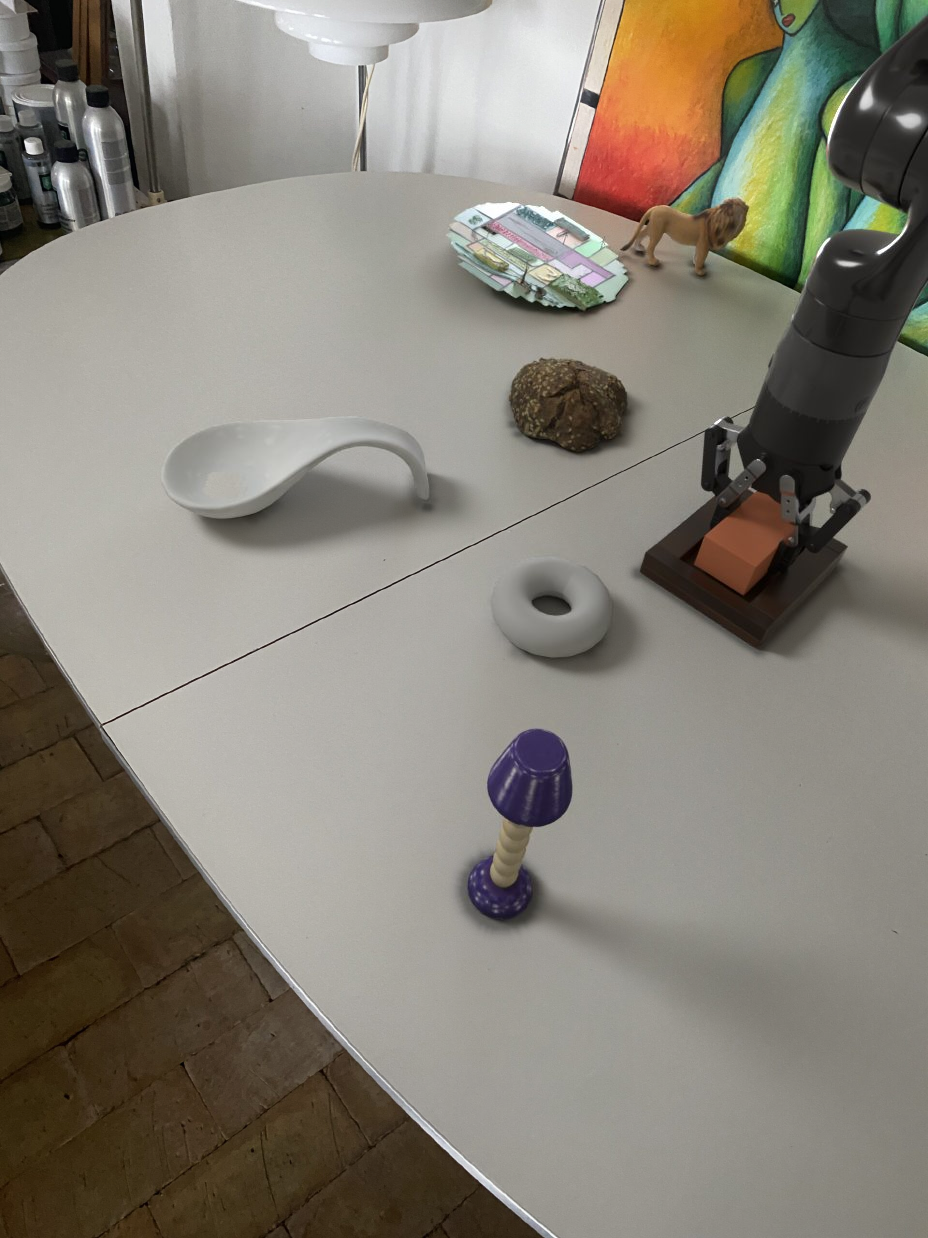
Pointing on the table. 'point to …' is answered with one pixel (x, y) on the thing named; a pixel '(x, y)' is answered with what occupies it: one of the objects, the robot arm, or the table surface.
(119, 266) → the table surface
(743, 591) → the orange block
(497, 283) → the city model
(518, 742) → the toy lamp
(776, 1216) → the table surface
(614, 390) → the bread roll
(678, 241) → the lion figurine
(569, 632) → the donut
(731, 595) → the back plate
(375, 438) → the spoon rest
